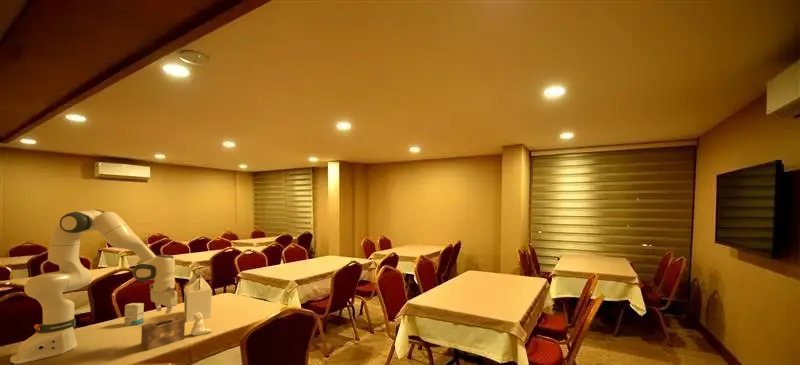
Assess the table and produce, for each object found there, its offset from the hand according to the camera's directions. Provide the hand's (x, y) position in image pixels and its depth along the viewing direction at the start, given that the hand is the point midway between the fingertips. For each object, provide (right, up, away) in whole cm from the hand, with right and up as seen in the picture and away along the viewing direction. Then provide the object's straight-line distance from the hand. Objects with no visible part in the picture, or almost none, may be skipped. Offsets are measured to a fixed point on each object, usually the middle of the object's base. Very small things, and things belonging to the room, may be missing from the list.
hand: (163, 312), depth 172 cm
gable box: (-7, -18, +41) cm, 45 cm away
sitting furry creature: (+13, -16, +10) cm, 23 cm away
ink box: (-37, -18, +27) cm, 49 cm away
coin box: (+1, -15, -1) cm, 15 cm away
